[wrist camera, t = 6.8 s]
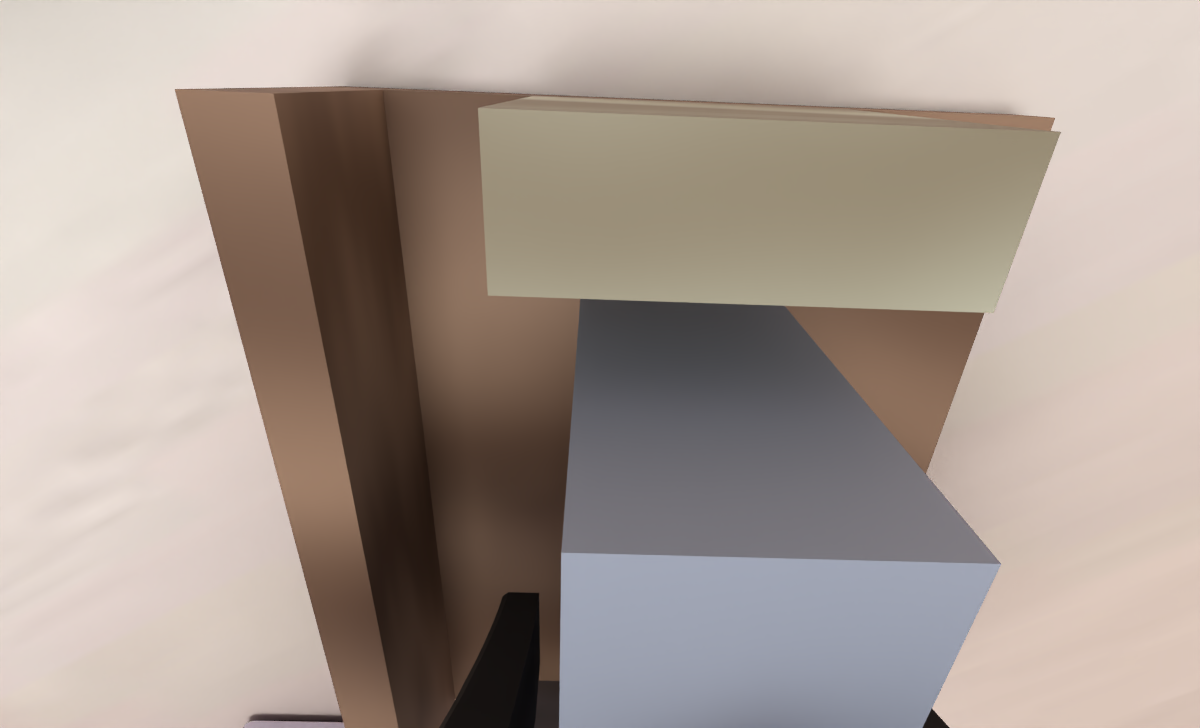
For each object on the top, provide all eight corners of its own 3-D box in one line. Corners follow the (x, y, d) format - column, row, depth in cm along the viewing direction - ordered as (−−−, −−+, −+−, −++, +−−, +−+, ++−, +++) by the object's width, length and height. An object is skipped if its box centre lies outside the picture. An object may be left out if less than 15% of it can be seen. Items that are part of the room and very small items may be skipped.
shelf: (828, 672, 20) (927, 926, 14) (428, 664, 20) (354, 920, 14) (1013, 114, 12) (1434, 147, 6) (343, 85, 12) (74, 90, 6)
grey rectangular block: (766, 283, 12) (1000, 563, 5) (700, 652, 18) (771, 1041, 10) (581, 276, 12) (560, 553, 5) (571, 649, 18) (555, 1040, 10)
